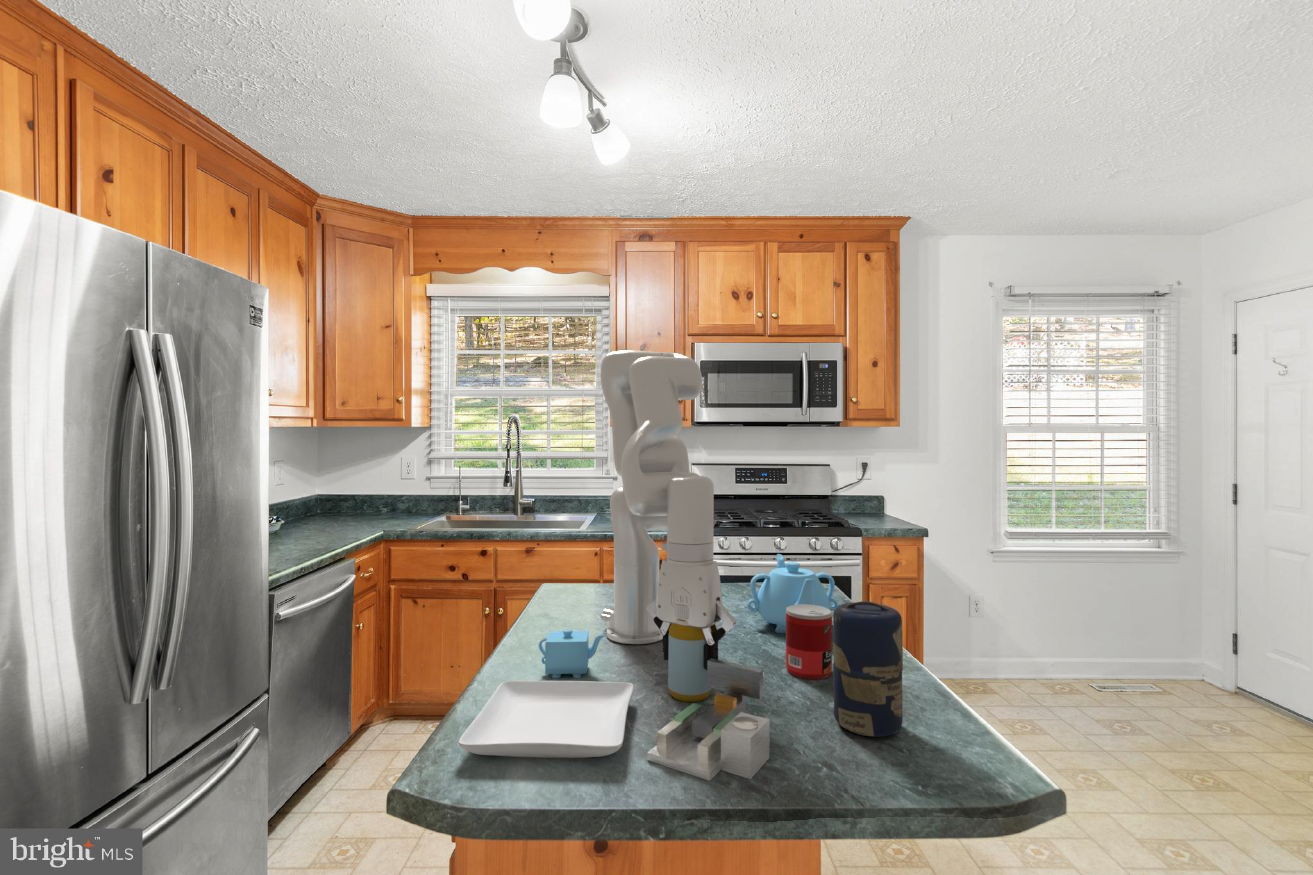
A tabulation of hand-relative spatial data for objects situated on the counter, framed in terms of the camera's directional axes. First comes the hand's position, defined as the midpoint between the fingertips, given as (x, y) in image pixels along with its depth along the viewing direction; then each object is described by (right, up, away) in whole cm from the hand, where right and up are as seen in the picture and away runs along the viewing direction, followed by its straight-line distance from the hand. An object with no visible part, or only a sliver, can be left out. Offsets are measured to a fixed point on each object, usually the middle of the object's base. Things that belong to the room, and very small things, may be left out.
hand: (689, 661), depth 100 cm
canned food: (+22, -6, +10) cm, 24 cm away
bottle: (0, -5, 0) cm, 5 cm away
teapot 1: (-20, -5, +9) cm, 23 cm away
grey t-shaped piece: (+4, -4, -13) cm, 14 cm away
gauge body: (+2, -5, -20) cm, 20 cm away
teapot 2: (+25, -6, +37) cm, 44 cm away
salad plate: (-20, -6, -12) cm, 24 cm away
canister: (+25, -5, -11) cm, 28 cm away
